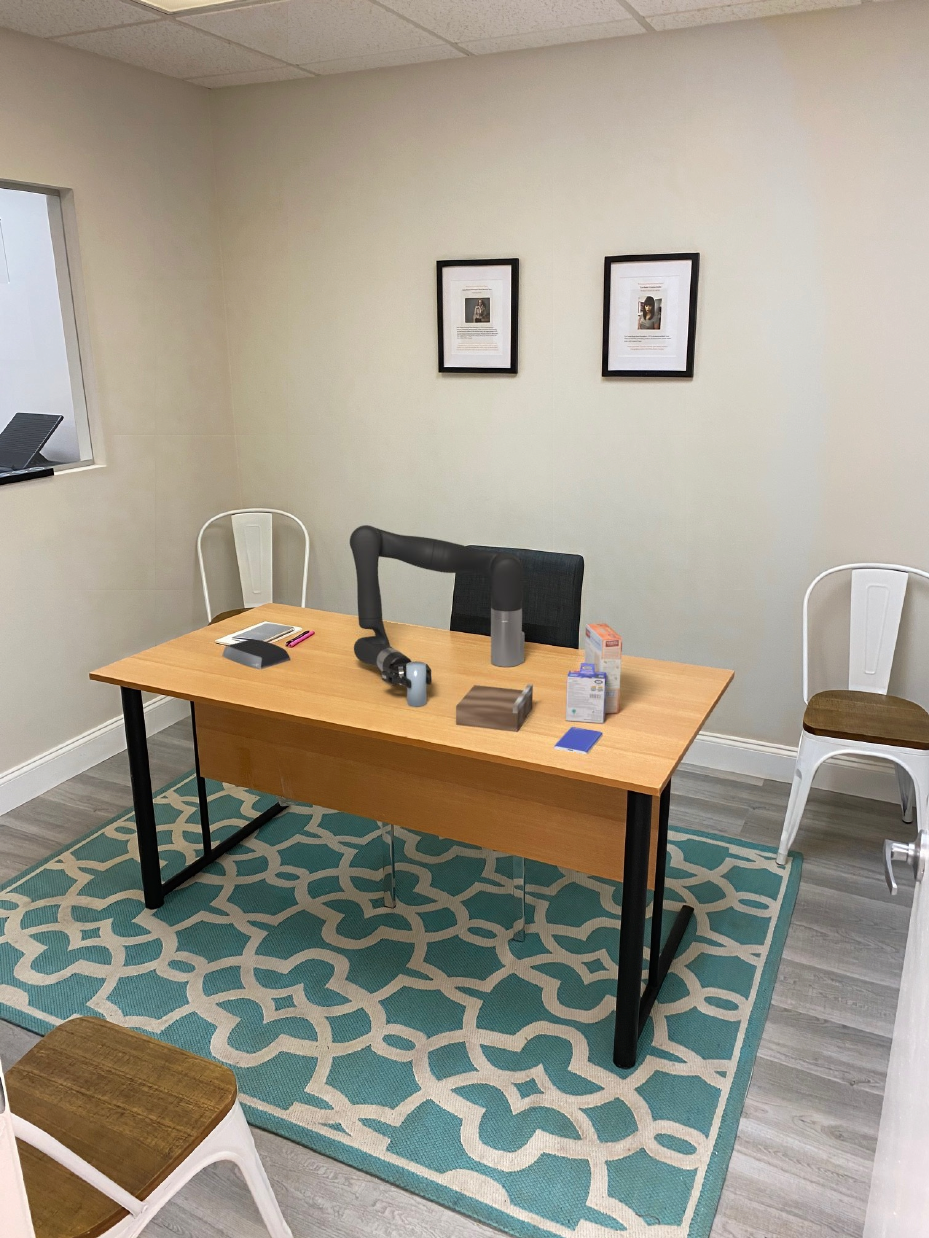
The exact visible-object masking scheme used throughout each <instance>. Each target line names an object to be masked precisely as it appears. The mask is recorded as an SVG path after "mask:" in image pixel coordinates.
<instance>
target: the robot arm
mask: <svg viewBox="0 0 929 1238" xmlns="http://www.w3.org/2000/svg"><path fill="white" fill-rule="evenodd" d="M349 546H350V549H351V552H352V557H353V560H354V566H355V570H356V572H355V573H356V585H357V586H356V587H357V588H356V589H357V590H356V591H357V592H356V593H357V596H356V598H357V617H358V625H359V628H361V629H364V630H372V631H373V633H374V635H372V636H364V637H360V638H358V639H357V640H356V641H355V642H354V644H353V652H354V653H353V654H354V655H355V657H356V658H357V660H358V661H360V662H362V663H363V664H367V665H370V666H374V667H377V668H378V669H379V670H380V671H381V680H382V681H383V682H385V683H388V684H389V685H392V686H397V685H398V684H399V685H400V686H403V687H404V688H406V689H407V688H411V680H409V679H408V678H407V672H406V664H407V663H409V662H413V661H412V660H411V658H409V657H408V656H406V655H405V654H403V653H402V652H401V651H399V650H398V649H395V648H393V647H392V646H391V643H390V640H389V638H388V635H387V632H386V629H385V625H384V621H383V608H382V606H383V605H382V596H381V589H380V583H379V582H380V580H379V558H387V559H393V560H398V561H401V562H403V563H406V564H409V565H411V566H414V567H417V568H419V569H424V570H429V571H433V572H437V573H438V572H439V573H444V574H461V573H462V574H465V573H470V574H477V575H481V576H486V577H487V578H491V599H490V602H491V603H490V663H491V664H492V665H494V666H498V667H504V668H505V667H507V668H508V667H509V668H510V667H516V666H519V665H521V664H522V663H525V632H524V631H522V629H523V626H522V625H523V601H524V579H525V578H524V567H523V564H522V563H521V560H520V558H519V557H518V556H516V555H515V554H513V553H512V552H507V551H498V550H497V551H495V550H485V549H484V550H483V549H479V548H478V549H477V548H474V547H471V546H467V545H463V544H459V543H456V542H451V541H447V540H443V539H437V538H431V537H430V538H429V537H424V536H416V535H404V534H398V533H394V532H390V531H387V530H383V529H381V528H377V527H375V526H372V525H366V524H365V525H360V526H357V528H355V529H354V530H353V531H352V533H351V534H350V538H349ZM425 664H426V685H428V686H429V685H432V684H431V683H432V677H433V676H432V669H431V667H430V665H428V663H425Z"/></svg>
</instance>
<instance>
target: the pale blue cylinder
mask: <svg viewBox="0 0 929 1238" xmlns="http://www.w3.org/2000/svg"><path fill="white" fill-rule="evenodd" d="M426 664H427V663H426V662H423V661H417V660H416V661H412V662H409V663H407V664H406V672H407V678H408V679H409V680H411V688H407V687H406V701H407V702H406V705H408V706H409V707H413V708H420V707H425V706H427V703H428V702H427V701H428V700H427V698H428V697H427V684H426Z"/></svg>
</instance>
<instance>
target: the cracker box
mask: <svg viewBox="0 0 929 1238" xmlns="http://www.w3.org/2000/svg"><path fill="white" fill-rule="evenodd" d="M584 641H585V642H584V643H585V645H584V663H588V664H595V672H606V674H607V679H606V707H605V715H609V714H610V715H611V714H619V708H620V707H619V705H620V703H619V702H620V692H621V691H620V690H621V689H620V686H621V671H622V670H621V669H622V652H623V650H622V649H623V637H622V636H620V635H619V634H618V632H616V631H615V630H614V629H613V628H612V627H611V626H609V625H608V624H607V623H604V622H598V623H587V624H585V640H584ZM583 669H590V670H591V669H592V667H590V666H584V667H583Z"/></svg>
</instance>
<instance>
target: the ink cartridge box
mask: <svg viewBox="0 0 929 1238" xmlns="http://www.w3.org/2000/svg"><path fill="white" fill-rule="evenodd" d="M584 666H590V667H592V669H591V670H590V669H584ZM606 679H607V674H606V672H595V664H588V663H585V662H581V663H580V668H579V670H569V671H568V673H567V676H566V700H565V702H566V703H565V705H566V706H565V721H569V722H582V723H583V722H585V723H597V724H604V721H605V720H606V719H605V718H606V714H605V707H606Z"/></svg>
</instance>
